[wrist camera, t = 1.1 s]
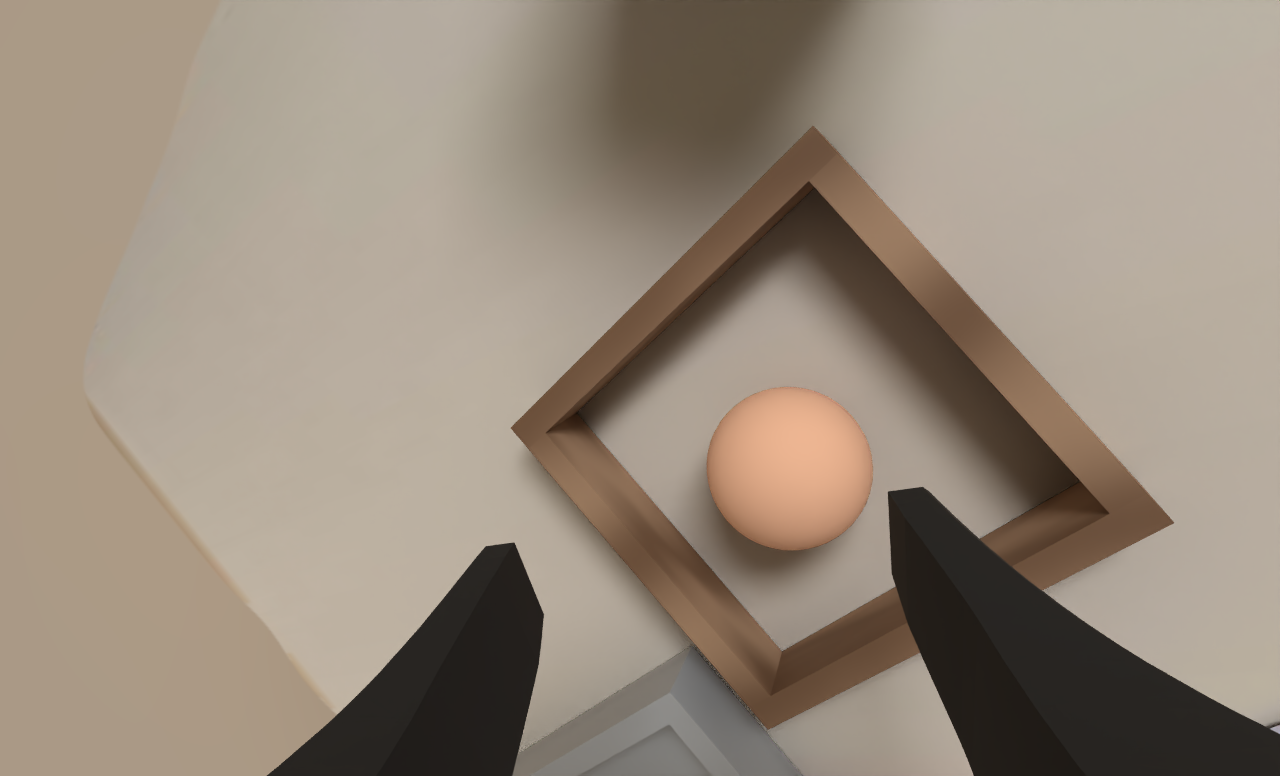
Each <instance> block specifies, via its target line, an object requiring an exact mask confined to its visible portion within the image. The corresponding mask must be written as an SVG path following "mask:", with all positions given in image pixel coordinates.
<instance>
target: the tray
mask: <svg viewBox="0 0 1280 776" xmlns="http://www.w3.org/2000/svg"><path fill="white" fill-rule="evenodd" d="M512 776H803V775H802V774H801V773H800V772H799V771H798V769H797V768H796V767H795V766H794V765H793V764H792V762H791V761H790V760H789V759H788V758H787V757H786V755H785V754H784V753H783V752H782V751H781V750H780V748H779V747H778V746H777V745H776V744H775V742H774V741H773V740H772V739H771V738H770V737H769V735H768V734H767V733H766V732H765V731H764V730H763V728H762V727H761V726H760V725H759V724H758V723H757V721H756V720H755V719H754V718H753V717H752V716H751V714H750V713H749V712H748V711H747V710H746V708H745V707H744V706H743V705H742V704H741V703H740V701H739V700H738V699H737V698H736V697H735V696H734V694H733V693H732V692H731V691H730V690H729V689H728V687H727V686H726V685H725V684H724V683H723V681H722V680H721V679H720V678H719V677H718V676H717V674H716V673H715V672H714V671H713V670H712V669H711V667H710V666H709V665H708V664H707V663H706V662H705V660H704V659H703V658H702V657H701V656H700V654H699V653H698V652H697V651H696V650H695V649H694V647H693V646H690V647H689V648H687V649H686V650H684V651H682V652H681V653H679V654H678V655H676V656H674V657H673V658H671V659H670V660H668V661H666V662H665V663H663V664H662V665H660V666H658V667H657V668H655V669H654V670H652V671H650V672H649V673H647V674H646V675H644V676H642V677H641V678H639V679H638V680H636V681H634V682H633V683H631V684H630V685H628V686H626V687H625V688H623V689H622V690H620V691H618V692H617V693H615V694H614V695H612V696H610V697H609V698H607V699H605V700H604V701H602V702H601V703H599V704H597V705H596V706H594V707H593V708H591V709H589V710H588V711H586V712H585V713H583V714H581V715H580V716H578V717H577V718H575V719H573V720H572V721H570V722H569V723H567V724H565V725H564V726H562V727H561V728H559V729H557V730H556V731H554V732H553V733H551V734H549V735H548V736H546V737H545V738H543V739H541V740H540V741H538V742H537V743H535V744H533V745H532V746H530V747H529V748H527V749H525V750H524V751H522V752H521V753H519V754H518V755H517V759H516V763H515V767H514V771H513V775H512Z"/></svg>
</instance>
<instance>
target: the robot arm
mask: <svg viewBox="0 0 1280 776" xmlns="http://www.w3.org/2000/svg"><path fill="white" fill-rule="evenodd" d="M888 504H889V525H890V545H891V566H892V575H893V579H894V582H895V585H896V588H897V592H898V595H899V598H900V601H901V604H902V608H903V611H904V614H905V617H906V620H907V623H908V626H909V628H910V630H911V633H912V635H913V637H914V640H915V642H916V644H917V646H918V649H919V651H920V653H921V655H922V658H923V660H924V662H925V664H926V667H927V669H928V671H929V673H930V675H931V678H932V680H933V682H934V684H935V686H936V689H937V691H938V693H939V695H940V698H941V700H942V702H943V704H944V706H945V709H946V711H947V713H948V715H949V718H950V720H951V722H952V724H953V726H954V729H955V731H956V733H957V735H958V738H959V740H960V742H961V744H962V747H963V749H964V752H965V754H966V757H967V759H968V762H969V764H970V767H971V769H972V772H973V775H974V776H1280V725H1278V726H1276V727H1273V728H1270V729H1269V728H1267V727H1265V726H1263V725H1261V724H1259V723H1257V722H1255V721H1253V720H1251V719H1249V718H1247V717H1245V716H1243V715H1241V714H1239V713H1237V712H1235V711H1233V710H1231V709H1229V708H1228V707H1226V706H1224V705H1222V704H1220V703H1218V702H1216V701H1214V700H1213V699H1211V698H1209V697H1207V696H1205V695H1204V694H1202V693H1200V692H1198V691H1196V690H1195V689H1193V688H1191V687H1189V686H1188V685H1186V684H1184V683H1182V682H1181V681H1179V680H1177V679H1175V678H1174V677H1172V676H1170V675H1168V674H1167V673H1165V672H1163V671H1161V670H1160V669H1158V668H1156V667H1154V666H1153V665H1151V664H1149V663H1147V662H1146V661H1144V660H1142V659H1141V658H1139V657H1138V656H1136V655H1134V654H1133V653H1131V652H1130V651H1128V650H1126V649H1125V648H1123V647H1122V646H1120V645H1118V644H1117V643H1115V642H1114V641H1112V640H1111V639H1109V638H1108V637H1106V636H1105V635H1103V634H1102V633H1100V632H1099V631H1097V630H1096V629H1094V628H1093V627H1091V626H1090V625H1088V624H1087V623H1085V622H1084V621H1083V620H1081V619H1080V618H1078V617H1077V616H1075V615H1074V614H1073V613H1071V612H1070V611H1069V610H1067V609H1066V608H1064V607H1063V606H1062V605H1060V604H1059V603H1058V602H1056V601H1055V600H1054V599H1052V598H1051V597H1050V596H1048V595H1047V594H1046V593H1044V592H1043V591H1042V590H1040V589H1039V588H1038V587H1037V586H1035V585H1034V584H1033V583H1031V582H1030V581H1029V580H1028V579H1026V578H1025V577H1024V576H1023V575H1021V574H1020V573H1019V572H1018V571H1016V570H1015V569H1014V568H1013V567H1012V566H1010V565H1009V564H1008V563H1007V562H1006V561H1005V560H1003V559H1002V558H1001V557H1000V556H999V555H997V554H996V553H995V552H994V551H993V550H991V549H990V548H989V547H988V546H987V545H986V544H985V543H983V542H982V541H981V540H980V539H979V538H978V537H977V536H976V535H974V534H973V533H972V532H971V531H970V530H969V529H968V528H967V527H966V526H965V525H963V524H962V523H961V522H960V521H959V520H958V519H957V518H956V517H955V516H954V515H953V514H952V513H951V512H950V511H949V510H948V509H946V508H945V507H944V506H943V505H942V504H941V503H940V502H939V501H938V500H937V499H936V498H935V497H934V496H933V495H932V494H931V493H930V492H929V491H928V490H926V489H925V488H923V487H919V488H911V489H904V490H897V491H889V492H888ZM543 618H544V614H543V611H542V609H541V606H540V604H539V602H538V599H537V597H536V594H535V592H534V589H533V587H532V584H531V582H530V580H529V577H528V575H527V572H526V570H525V567H524V565H523V562H522V560H521V558H520V555H519V553H518V550H517V548H516V545H515V543H507V544H500V545H493V546H486V547H485V548H484V549H483V550H482V551H481V553H480V554H479V555H478V556H477V557H476V559H475V560H474V561H473V562H472V564H471V565H470V566H469V567H468V569H467V570H466V571H465V572H464V574H463V575H462V576H461V577H460V579H459V580H458V581H457V582H456V584H455V585H454V586H453V587H452V589H451V590H450V591H449V592H448V594H447V595H446V596H445V597H444V599H443V600H442V601H441V602H440V603H439V605H438V606H437V607H436V608H435V609H434V611H433V612H432V613H431V614H430V616H429V617H428V618H427V619H426V620H425V622H424V623H423V624H422V625H421V627H420V628H419V629H418V630H417V631H416V632H415V633H414V635H413V636H412V637H411V638H410V639H409V640H408V641H407V642H406V644H405V645H404V646H403V647H402V648H401V649H400V650H399V651H398V653H397V654H396V655H395V656H394V657H393V658H392V659H391V660H390V662H389V663H388V664H387V665H386V666H385V667H384V668H383V669H382V670H381V672H380V673H379V674H378V675H377V676H376V677H375V678H374V679H373V680H372V681H371V682H370V683H369V684H368V685H367V686H366V687H365V688H364V689H363V690H362V691H361V692H360V693H359V694H358V695H357V696H356V697H355V698H354V699H353V700H352V701H351V702H350V703H349V704H348V705H347V706H346V707H345V708H344V709H343V710H342V711H341V712H340V713H339V714H338V715H336V716H335V718H333V719H332V720H331V721H330V722H329V723H328V724H327V725H326V726H325V727H323V728H322V729H321V730H320V731H319V732H318V733H316V734H315V735H314V736H313V737H312V738H311V739H310V740H308V741H307V742H306V743H305V744H304V745H303V746H301V747H300V748H299V749H298V750H297V751H296V752H294V753H293V754H292V755H291V756H290V757H289V758H288V759H286V760H285V761H284V762H283V763H282V764H281V765H279V767H277V768H276V769H274V770H273V771H272V772H271V773H270V774H268V775H267V776H512V775H513V771H514V767H515V763H516V759H517V755H518V750H519V746H520V742H521V738H522V734H523V729H524V725H525V721H526V717H527V713H528V709H529V704H530V700H531V696H532V691H533V687H534V683H535V678H536V674H537V669H538V665H539V657H540V648H541V639H542V628H543Z"/></svg>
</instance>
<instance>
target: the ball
mask: <svg viewBox="0 0 1280 776" xmlns="http://www.w3.org/2000/svg"><path fill="white" fill-rule="evenodd" d="M707 477H708V483H709V487H710V491H711V494H712V497H713V499H714V501H715V503H716V505H717V507H718V508H719V510H720V512H721V513H722V515H723V516H724V517H725V518H726V520H727V521H728V522H729V523H730V524H731V525H732V526H733V527H734V528H735V529H736V530H737V531H739V532H740V533H741V534H742V535H744V536H745V537H747V538H749V539H750V540H752V541H754V542H756V543H758V544H761V545H764V546H766V547H770V548H774V549H780V550H803V549H809V548H814V547H817V546H820V545H823V544H825V543H827V542H829V541H831V540H833V539H835V538H836V537H838V536H839V535H841V534H842V533H843V532H845V531H846V530H847V529H848V528H849V527H850V526H851V525H852V524H853V523H854V522H855V520H856V519H857V518H858V516H859V515H860V513H861V512H862V510H863V508H864V506H865V505H866V502H867V500H868V497H869V494H870V490H871V485H872V480H873V465H872V455H871V451H870V448H869V444H868V442H867V439H866V437H865V435H864V433H863V431H862V430H861V428H860V426H859V425H858V423H857V422H856V421H855V419H854V418H853V417H852V415H850V414H849V413H848V412H847V411H846V410H845V409H844V408H843V407H842V406H841V405H839V404H838V403H837V402H835V401H834V400H832V399H830V398H829V397H827V396H825V395H822V394H820V393H818V392H815V391H811V390H808V389H803V388H797V387H780V388H773V389H768V390H764V391H761V392H758V393H756V394H753V395H751V396H749V397H747V398H745V399H744V400H742V401H741V402H740V403H738V404H737V405H736V406H734V407H733V408H732V409H731V410H730V411H729V412H728V413H727V414H726V415H725V417H724V418H723V419H722V420H721V422H720V424H719V425H718V427H717V429H716V430H715V432H714V435H713V437H712V439H711V442H710V446H709V450H708V456H707Z"/></svg>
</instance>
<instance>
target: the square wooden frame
mask: <svg viewBox="0 0 1280 776" xmlns="http://www.w3.org/2000/svg"><path fill="white" fill-rule="evenodd" d="M814 188H816V189H817V190H818V191H819V193H820V194H821V195H822V196H823V197H824V198H825V199H826V200H827V201H828V203H829V204H830V205H831V206H832V207H833V208H834V209H835V210H836V211H837V212H838V214H839V215H840V216H841V217H842V218H843V219H844V220H845V221H846V222H847V224H848V225H849V226H850V227H851V228H852V229H853V230H854V231H855V232H856V234H857V235H858V236H859V237H860V238H861V239H862V240H863V241H864V242H865V243H866V245H867V246H868V247H869V248H870V249H871V250H872V251H873V252H874V253H875V255H876V256H877V257H878V258H879V259H880V260H881V261H882V262H883V263H884V264H885V266H886V267H887V268H888V269H889V270H890V271H891V272H892V273H893V274H894V276H895V277H896V278H897V279H898V280H899V281H900V282H901V283H902V284H903V285H904V287H905V288H906V289H907V290H908V291H909V292H910V293H911V294H912V295H913V297H914V298H915V299H916V300H917V301H918V302H919V303H920V304H921V305H922V306H923V308H924V309H925V310H926V311H927V312H928V313H929V314H930V315H931V316H932V318H933V319H934V320H935V321H936V322H937V323H938V324H939V325H940V326H941V327H942V329H943V330H944V331H945V332H946V333H947V334H948V335H949V336H950V337H951V339H952V340H953V341H954V342H955V343H956V344H957V345H958V346H959V347H960V348H961V350H962V351H963V352H964V353H965V354H966V355H967V356H968V357H969V358H970V360H971V361H972V362H973V363H974V364H975V365H976V366H977V367H978V368H979V369H980V371H981V372H982V373H983V374H984V375H985V376H986V377H987V378H988V379H989V381H990V382H991V383H992V384H993V385H994V386H995V387H996V388H997V389H998V390H999V392H1000V393H1001V394H1002V395H1003V396H1004V397H1005V398H1006V399H1007V400H1008V402H1009V403H1010V404H1011V405H1012V406H1013V407H1014V408H1015V409H1016V410H1017V412H1018V413H1019V414H1020V415H1021V416H1022V417H1023V418H1024V419H1025V420H1026V421H1027V423H1028V424H1029V425H1030V426H1031V427H1032V428H1033V429H1034V430H1035V431H1036V433H1037V434H1038V435H1039V436H1040V437H1041V438H1042V439H1043V440H1044V441H1045V442H1046V444H1047V445H1048V446H1049V447H1050V448H1051V449H1052V450H1053V451H1054V452H1055V454H1056V455H1057V456H1058V457H1059V458H1060V459H1061V460H1062V461H1063V462H1064V463H1065V465H1066V466H1067V467H1068V468H1069V469H1070V470H1071V471H1072V472H1073V473H1074V475H1075V476H1076V477H1077V478H1078V479H1079V480H1080V482H1079V483H1077V484H1075V485H1073V486H1072V487H1070V488H1068V489H1066V490H1065V491H1063V492H1061V493H1059V494H1058V495H1056V496H1054V497H1052V498H1051V499H1049V500H1047V501H1045V502H1044V503H1042V504H1040V505H1038V506H1037V507H1035V508H1033V509H1031V510H1030V511H1028V512H1026V513H1024V514H1023V515H1021V516H1019V517H1017V518H1016V519H1014V520H1012V521H1010V522H1009V523H1007V524H1005V525H1003V526H1001V527H1000V528H998V529H996V530H994V531H993V532H991V533H989V534H987V535H986V536H984V537H982V538H980V540H981V541H982V542H983V543H985V544H986V545H987V546H988V547H989V548H990V549H991V550H993V551H994V552H995V553H996V554H997V555H999V556H1000V557H1001V558H1002V559H1003V560H1005V561H1006V562H1007V563H1008V564H1009V565H1010V566H1012V567H1013V568H1014V569H1015V570H1016V571H1018V572H1019V573H1020V574H1021V575H1023V576H1024V577H1025V578H1026V579H1028V580H1029V581H1030V582H1031V583H1033V584H1034V585H1035V586H1037V587H1038V588H1039V589H1040V590H1044V589H1046V588H1047V587H1049V586H1051V585H1053V584H1055V583H1057V582H1059V581H1061V580H1063V579H1065V578H1067V577H1069V576H1071V575H1073V574H1075V573H1077V572H1079V571H1081V570H1083V569H1085V568H1087V567H1089V566H1091V565H1093V564H1095V563H1097V562H1099V561H1101V560H1103V559H1104V558H1106V557H1108V556H1110V555H1112V554H1114V553H1116V552H1118V551H1120V550H1122V549H1124V548H1126V547H1128V546H1130V545H1132V544H1134V543H1136V542H1138V541H1140V540H1142V539H1144V538H1146V537H1148V536H1150V535H1152V534H1154V533H1156V532H1158V531H1160V530H1161V529H1163V528H1165V527H1167V526H1169V525H1171V524H1173V523H1174V522H1173V521H1172V520H1171V519H1170V517H1169V516H1168V515H1167V514H1166V513H1165V512H1164V511H1163V509H1162V508H1161V507H1160V506H1159V505H1158V504H1157V503H1156V501H1155V500H1154V499H1153V498H1152V497H1151V496H1150V495H1149V493H1148V492H1147V491H1146V490H1145V489H1144V488H1143V487H1142V485H1141V484H1140V483H1139V482H1138V481H1137V480H1136V479H1135V478H1134V477H1133V476H1132V474H1131V473H1130V472H1129V471H1128V470H1127V469H1126V468H1125V467H1124V466H1123V465H1122V464H1121V462H1120V461H1119V460H1118V459H1117V458H1116V457H1115V456H1114V455H1113V454H1112V453H1111V451H1110V450H1109V449H1108V448H1107V447H1106V446H1105V445H1104V444H1103V443H1102V442H1101V440H1100V439H1099V438H1098V437H1097V436H1096V435H1095V434H1094V433H1093V432H1092V431H1091V429H1090V428H1089V427H1088V426H1087V425H1086V424H1085V423H1084V422H1083V421H1082V420H1081V418H1080V417H1079V416H1078V415H1077V414H1076V413H1075V412H1074V411H1073V410H1072V409H1071V407H1070V406H1069V405H1068V404H1067V403H1066V402H1065V401H1064V400H1063V399H1062V398H1061V396H1060V395H1059V394H1058V393H1057V392H1056V391H1055V390H1054V389H1053V388H1052V387H1051V385H1050V384H1049V383H1048V382H1047V381H1046V380H1045V379H1044V378H1043V377H1042V376H1041V375H1040V373H1039V372H1038V371H1037V370H1036V369H1035V368H1034V367H1033V366H1032V365H1031V364H1030V362H1029V361H1028V360H1027V359H1026V358H1025V357H1024V356H1023V355H1022V354H1021V353H1020V351H1019V350H1018V349H1017V348H1016V347H1015V346H1014V345H1013V344H1012V343H1011V342H1010V340H1009V339H1008V338H1007V337H1006V336H1005V335H1004V334H1003V333H1002V332H1001V331H1000V329H999V328H998V327H997V326H996V325H995V324H994V323H993V322H992V321H991V320H990V318H989V317H988V316H987V315H986V314H985V313H984V312H983V311H982V310H981V309H980V307H979V306H978V305H977V304H976V303H975V302H974V301H973V300H972V299H971V298H970V296H969V295H968V294H967V293H966V292H965V291H964V290H963V289H962V288H961V287H960V286H959V284H958V283H957V282H956V281H955V280H954V279H953V278H952V277H951V276H950V275H949V273H948V272H947V271H946V270H945V269H944V268H943V267H942V266H941V265H940V264H939V262H938V261H937V260H936V259H935V258H934V257H933V256H932V255H931V254H930V253H929V251H928V250H927V249H926V248H925V247H924V246H923V245H922V244H921V243H920V242H919V240H918V239H917V238H916V237H915V236H914V235H913V234H912V233H911V232H910V231H909V229H908V228H907V227H906V226H905V225H904V224H903V223H902V222H901V221H900V220H899V218H898V217H897V216H896V215H895V214H894V213H893V212H892V211H891V210H890V209H889V207H888V206H887V205H886V204H885V203H884V202H883V201H882V200H881V199H880V198H879V197H878V195H877V194H876V193H875V192H874V191H873V190H872V189H871V188H870V187H869V186H868V184H867V183H866V182H865V181H864V180H863V179H862V178H861V177H860V176H859V175H858V173H857V172H856V171H855V170H854V169H853V168H852V167H851V166H850V165H849V164H848V162H847V161H846V160H845V159H844V158H843V157H842V156H841V155H840V154H839V153H838V151H837V150H836V149H835V148H834V147H833V146H832V145H831V144H830V143H829V142H828V140H827V139H826V138H825V137H824V136H823V135H822V134H821V133H820V132H819V131H818V130H817V129H816V128H815V127H814V126H812V127H811V128H810V129H809V130H808V131H807V132H806V133H805V134H804V135H803V136H802V137H801V138H800V139H799V140H798V141H797V142H796V143H795V144H794V145H793V146H792V147H791V148H790V149H789V150H788V151H787V152H786V153H785V154H784V155H783V156H782V157H781V158H780V159H779V160H778V161H777V162H776V163H775V164H774V165H773V166H772V167H771V168H770V169H769V170H768V171H767V172H766V173H765V174H764V175H763V176H762V177H761V178H760V179H759V180H758V181H757V182H756V183H755V184H754V185H753V186H752V187H751V188H750V189H749V190H748V191H747V192H746V193H745V194H744V195H743V196H742V197H741V198H740V199H739V200H738V201H737V202H736V203H735V204H734V205H733V206H732V207H731V208H730V209H729V210H728V211H727V212H726V213H725V214H724V215H723V216H722V217H721V218H720V219H719V220H718V221H717V222H716V223H715V224H714V225H713V226H712V227H711V228H710V229H709V230H708V231H707V232H706V233H705V234H704V235H703V236H702V237H701V238H700V239H699V240H698V241H697V242H696V243H695V244H694V245H693V246H692V247H691V248H690V249H689V250H688V251H687V252H686V253H685V254H684V255H683V256H682V257H681V258H680V259H679V260H678V261H677V262H676V263H675V264H674V265H673V266H672V267H671V268H670V269H669V270H668V271H667V272H666V273H665V274H664V275H663V276H662V277H661V278H660V279H659V280H658V281H657V282H656V283H655V284H654V285H653V286H652V287H651V288H650V289H649V290H648V291H647V292H646V293H645V294H644V295H643V296H642V297H641V298H640V299H639V300H638V301H637V302H636V303H635V304H634V305H633V306H632V307H631V308H630V309H629V310H628V311H627V312H626V313H625V314H624V315H623V316H622V317H621V318H620V319H619V320H618V321H617V322H616V323H615V324H614V325H613V326H612V327H611V328H610V329H609V330H608V331H607V332H606V333H605V334H604V335H603V336H602V337H601V338H600V339H599V340H598V341H597V342H596V343H595V344H594V345H593V346H592V347H591V348H590V349H589V350H588V351H587V352H586V353H585V354H584V355H583V356H582V357H581V358H580V359H579V360H578V361H577V362H576V363H575V364H574V365H573V366H572V367H571V368H570V369H569V370H568V371H567V372H566V373H565V374H564V375H563V376H562V377H561V378H560V379H559V380H558V381H557V382H556V383H555V384H554V385H553V386H552V387H551V388H550V389H549V390H548V391H547V392H546V393H545V394H544V395H543V396H542V397H541V398H540V399H539V400H538V401H537V402H536V403H535V404H534V405H533V406H532V407H531V408H530V409H529V410H528V411H527V412H526V413H525V414H524V415H523V416H522V417H521V418H520V419H519V420H518V421H517V422H516V423H515V424H514V425H513V426H512V427H511V429H512V430H513V431H514V433H515V434H516V435H517V436H518V437H519V438H520V440H521V441H522V442H523V443H524V444H525V445H526V447H527V448H528V449H529V450H530V451H531V452H532V454H533V455H534V456H535V457H536V458H537V459H538V461H539V462H540V463H541V464H542V465H543V467H544V468H545V469H546V470H547V471H548V472H549V474H550V475H551V476H552V477H553V478H554V479H555V481H556V482H557V483H558V484H559V485H560V486H561V488H562V489H563V490H564V491H565V492H566V493H567V495H568V496H569V497H570V498H571V499H572V501H573V502H574V503H575V504H576V505H577V506H578V508H579V509H580V510H581V511H582V512H583V513H584V515H585V516H586V517H587V518H588V519H589V520H590V522H591V523H592V524H593V525H594V526H595V527H596V529H597V530H598V531H599V532H600V533H601V535H602V536H603V537H604V538H605V539H606V540H607V542H608V543H609V544H610V545H611V546H612V547H613V549H614V550H615V551H616V552H617V553H618V554H619V556H620V557H621V558H622V559H623V560H624V562H625V563H626V564H627V565H628V566H629V567H630V569H631V570H632V571H633V572H634V573H635V574H636V576H637V577H638V578H639V579H640V580H641V581H642V583H643V584H644V585H645V586H646V587H647V588H648V590H649V591H650V592H651V593H652V594H653V596H654V597H655V598H656V599H657V600H658V601H659V603H660V604H661V605H662V606H663V607H664V608H665V610H666V611H667V612H668V613H669V614H670V615H671V617H672V618H673V619H674V620H675V621H676V622H677V624H678V625H679V626H680V627H681V628H682V630H683V631H684V632H685V633H686V634H687V635H688V637H689V638H690V639H691V640H692V641H693V642H694V644H695V645H696V646H697V647H698V648H699V649H700V651H701V652H702V653H703V654H704V655H705V656H706V658H707V659H708V660H709V661H710V662H711V664H712V665H713V666H714V667H715V668H716V669H717V671H718V672H719V673H720V674H721V675H722V676H723V678H724V679H725V680H726V681H727V682H728V683H729V685H730V686H731V687H732V688H733V689H734V690H735V692H736V693H737V694H738V695H739V696H740V698H741V699H742V700H743V701H744V702H745V703H746V705H747V706H748V707H749V708H750V709H751V710H752V712H753V713H754V714H755V715H756V716H757V717H758V719H759V720H760V721H761V722H762V723H763V724H764V726H765V727H766V728H767V729H770V728H772V727H774V726H776V725H778V724H780V723H782V722H784V721H786V720H788V719H790V718H792V717H794V716H796V715H798V714H800V713H802V712H804V711H806V710H808V709H810V708H812V707H814V706H816V705H818V704H820V703H821V702H823V701H825V700H827V699H829V698H831V697H833V696H835V695H837V694H839V693H841V692H843V691H845V690H847V689H849V688H851V687H853V686H855V685H857V684H859V683H861V682H863V681H865V680H867V679H869V678H871V677H873V676H875V675H877V674H878V673H880V672H882V671H884V670H886V669H888V668H890V667H892V666H894V665H896V664H898V663H900V662H902V661H904V660H906V659H908V658H910V657H912V656H914V655H916V654H918V653H920V651H919V649H918V646H917V644H916V642H915V640H914V637H913V635H912V633H911V630H910V628H909V626H908V623H907V620H906V617H905V614H904V611H903V608H902V604H901V601H900V598H899V595H898V592H897V588H896V587H895V588H893V589H891V590H889V591H888V592H886V593H884V594H882V595H881V596H879V597H877V598H875V599H873V600H872V601H870V602H868V603H866V604H865V605H863V606H861V607H859V608H858V609H856V610H854V611H852V612H851V613H849V614H847V615H845V616H844V617H842V618H840V619H838V620H837V621H835V622H833V623H831V624H830V625H828V626H826V627H824V628H823V629H821V630H819V631H817V632H816V633H814V634H812V635H810V636H809V637H807V638H805V639H803V640H802V641H800V642H798V643H796V644H795V645H793V646H791V647H789V648H788V649H786V650H784V651H781V650H780V649H779V648H778V646H777V645H776V644H775V643H774V642H773V641H772V640H771V638H770V637H769V636H768V635H767V634H766V633H765V631H764V630H763V629H762V628H761V627H760V626H759V624H758V623H757V622H756V621H755V620H754V619H753V617H752V616H751V615H750V614H749V613H748V612H747V610H746V609H745V608H744V607H743V606H742V605H741V603H740V602H739V601H738V600H737V599H736V598H735V597H734V595H733V594H732V593H731V592H730V591H729V590H728V588H727V587H726V586H725V585H724V584H723V583H722V581H721V580H720V579H719V578H718V577H717V576H716V574H715V573H714V572H713V571H712V570H711V569H710V567H709V566H708V565H707V564H706V563H705V562H704V561H703V559H702V558H701V557H700V556H699V555H698V554H697V552H696V551H695V550H694V549H693V548H692V547H691V545H690V544H689V543H688V542H687V541H686V540H685V538H684V537H683V536H682V535H681V534H680V533H679V531H678V530H677V529H676V528H675V527H674V526H673V524H672V523H671V522H670V521H669V520H668V519H667V518H666V516H665V515H664V514H663V513H662V512H661V511H660V509H659V508H658V507H657V506H656V505H655V504H654V502H653V501H652V500H651V499H650V498H649V497H648V495H647V494H646V493H645V492H644V491H643V490H642V488H641V487H640V486H639V485H638V484H637V483H636V481H635V480H634V479H633V478H632V477H631V476H630V475H629V473H628V472H627V471H626V470H625V469H624V468H623V466H622V465H621V464H620V463H619V462H618V461H617V459H616V458H615V457H614V456H613V455H612V454H611V452H610V451H609V450H608V449H607V448H606V447H605V445H604V444H603V443H602V442H601V441H600V440H599V438H598V437H597V436H596V435H595V434H594V433H593V432H592V430H591V429H590V428H589V427H588V426H587V425H586V423H585V422H584V421H583V420H582V419H581V418H580V416H579V415H578V414H577V412H578V411H579V410H580V409H581V408H582V407H583V406H584V405H585V404H586V403H587V402H589V401H590V400H591V399H592V398H593V397H594V396H595V395H596V394H597V393H598V392H599V391H600V390H601V389H602V388H603V387H604V386H605V385H607V384H608V383H609V382H610V381H611V380H612V379H613V378H614V377H615V376H616V375H617V374H618V373H619V372H620V371H621V370H622V369H623V368H625V367H626V366H627V365H628V364H629V363H630V362H631V361H632V360H633V359H634V358H635V357H636V356H637V355H638V354H639V353H640V352H641V351H642V350H644V349H645V348H646V347H647V346H648V345H649V344H650V343H651V342H652V341H653V340H654V339H655V338H656V337H657V336H658V335H659V334H660V333H662V332H663V331H664V330H665V329H666V328H667V327H668V326H669V325H670V324H671V323H672V322H673V321H674V320H675V319H676V318H677V317H678V316H679V315H681V314H682V313H683V312H684V311H685V310H686V309H687V308H688V307H689V306H690V305H691V304H692V303H693V302H694V301H695V300H696V299H697V298H699V297H700V296H701V295H702V294H703V293H704V292H705V291H706V290H707V289H708V288H709V287H710V286H711V285H712V284H713V283H714V282H715V281H716V280H718V279H719V278H720V277H721V276H722V275H723V274H724V273H725V272H726V271H727V270H728V269H729V268H730V267H731V266H732V265H733V264H734V263H736V262H737V261H738V260H739V259H740V258H741V257H742V256H743V255H744V254H745V253H746V252H747V251H748V250H749V249H750V248H751V247H752V246H753V245H755V244H756V243H757V242H758V241H759V240H760V239H761V238H762V237H763V236H764V235H765V234H766V233H767V232H768V231H769V230H770V229H771V228H773V227H774V226H775V225H776V224H777V223H778V222H779V221H780V220H781V219H782V218H783V217H784V216H785V215H786V214H787V213H788V212H789V211H791V210H792V209H793V208H794V207H795V206H796V205H797V204H798V203H799V202H800V201H801V200H802V199H803V198H804V197H805V196H806V195H807V194H808V193H810V192H811V191H812V190H813V189H814Z"/></svg>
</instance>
